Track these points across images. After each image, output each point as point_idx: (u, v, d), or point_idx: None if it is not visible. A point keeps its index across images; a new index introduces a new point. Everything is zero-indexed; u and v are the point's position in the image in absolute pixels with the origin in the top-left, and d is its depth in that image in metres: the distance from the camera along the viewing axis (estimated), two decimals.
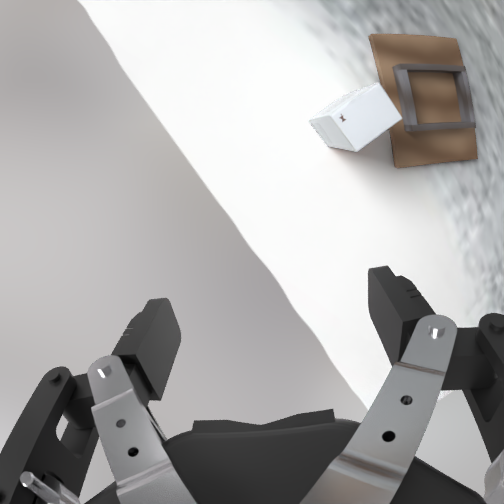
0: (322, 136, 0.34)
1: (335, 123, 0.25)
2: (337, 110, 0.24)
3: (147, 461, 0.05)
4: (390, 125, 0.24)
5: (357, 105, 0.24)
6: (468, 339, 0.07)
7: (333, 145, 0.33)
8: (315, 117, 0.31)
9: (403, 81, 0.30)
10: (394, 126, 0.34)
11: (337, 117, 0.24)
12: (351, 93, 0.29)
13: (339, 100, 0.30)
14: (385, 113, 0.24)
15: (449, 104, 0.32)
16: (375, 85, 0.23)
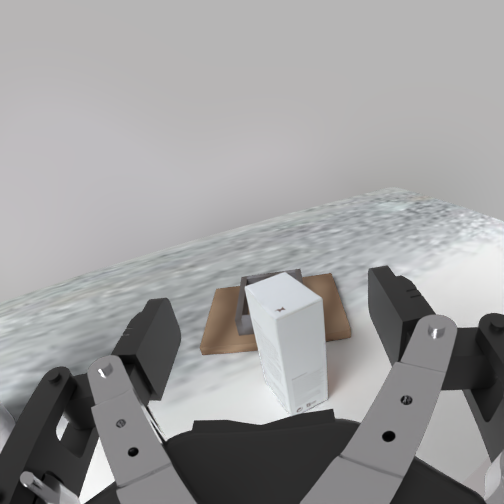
0: (313, 394, 0.26)
1: (286, 316, 0.22)
2: (270, 314, 0.22)
3: (147, 462, 0.05)
4: (292, 278, 0.26)
5: (266, 299, 0.24)
6: (468, 339, 0.07)
7: (324, 372, 0.25)
8: (285, 388, 0.24)
9: None
10: None
11: (279, 313, 0.22)
12: (259, 346, 0.28)
13: (267, 364, 0.27)
14: (279, 281, 0.26)
15: None
16: (247, 288, 0.26)
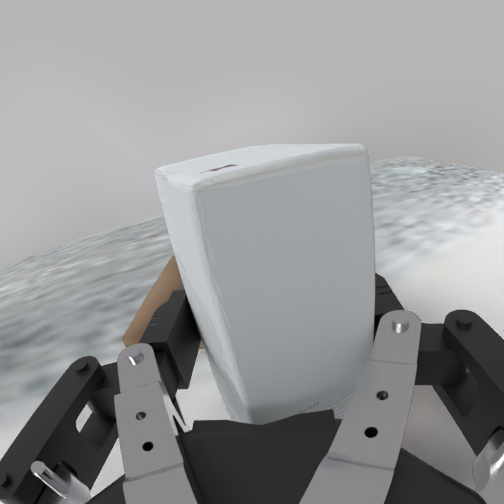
0: None
1: (238, 181, 0.05)
2: (181, 181, 0.06)
3: (159, 458, 0.05)
4: (273, 144, 0.10)
5: (190, 166, 0.08)
6: (434, 335, 0.07)
7: None
8: None
9: None
10: None
11: (212, 172, 0.06)
12: (199, 331, 0.12)
13: (217, 375, 0.11)
14: (239, 149, 0.10)
15: None
16: (157, 169, 0.10)
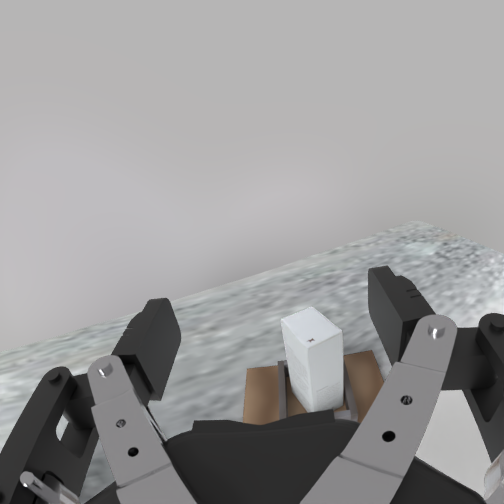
0: (332, 402, 0.32)
1: (315, 346, 0.28)
2: (303, 343, 0.28)
3: (147, 462, 0.05)
4: (318, 312, 0.32)
5: (299, 331, 0.30)
6: (468, 339, 0.07)
7: (341, 385, 0.31)
8: (311, 398, 0.30)
9: None
10: None
11: (310, 343, 0.28)
12: (290, 364, 0.34)
13: (296, 378, 0.33)
14: (308, 314, 0.32)
15: None
16: (282, 320, 0.32)
